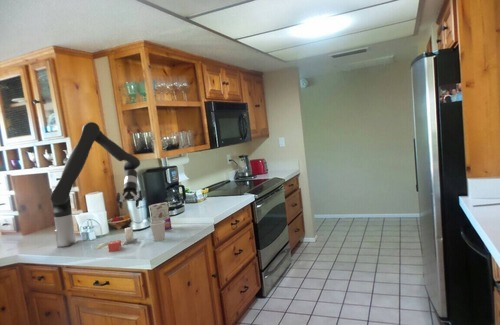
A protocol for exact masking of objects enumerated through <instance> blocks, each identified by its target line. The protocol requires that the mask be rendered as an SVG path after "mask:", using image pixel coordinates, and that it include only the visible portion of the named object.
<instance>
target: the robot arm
mask: <svg viewBox="0 0 500 325" xmlns="http://www.w3.org/2000/svg"><path fill="white" fill-rule="evenodd" d="M95 142H96V143H97V144H98V145H100V146H101V147H102V148H103V149H104V150H106V151H107V152H108V153H109V154H110V155H111V156H112V157H113V158H114V159H116V160H117V161H118V162H124V161H125V162H124V164H123V171H124V175H125V176H124V181H123V188H122V190H123V192H122V193H120V192H117V194H116V200H115V202H116V203H117V204H118V207H119V209H121V210H122V209H123V204H124V202H126V201H129V200H135V208H139V205H140V202H141V201H143V191H142V190H139V191H138V172H137V171H136V169H137V168H138V167H140V166H141V160H140V159H139V158H138V157H137V156H135V155H133V154H130V153H129V152H126V151H125V150H124V149H123V148H122V147H121V146H120V145H118V144H117V143H115V142H114V141H113V140H112V139H110V138H109V137H107V135H105V134H104V133H103V132H102V130H101V128H100V126H99V125H98V124H97V123H96V122H94V121H93V122H92V121H90V122H89V121H88V122H86V123H85V124H84V125H83V126H82V130H81V134H80V137H79V140H78V141H77V144H76V145H75V146H74V148H73V149H72V151H71V153H70V154H69V156H68V158H67V160H66V162H65V164H64V167H63V170H62V173H61V176H60V178H59V181H58V182H57V184H56V186H55V187H54V188H53V190H52V192H51V193H50V201H51V203H52V208H53V217H54V225H55V230H54V235H55V242H56V247H57V248H58V247H67V246H72V245H74V244H75V243H76V242H77V238H76V230H75V225H74V219H73V213H72V212H73V211H72V202H71V196H70V193H71V191H72V188H73V185H74V184H75V181H76V180H77V179H78V178H79V175H80V174H81V172H82V170H83V168H84V167H85V164H86V162H87V159H88V157H89V154H90V151H91V149H92V146H93V144H94V143H95ZM137 195H138V196H137Z"/></svg>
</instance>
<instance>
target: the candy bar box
mask: <svg viewBox="0 0 500 325" xmlns="http://www.w3.org/2000/svg"><path fill="white" fill-rule="evenodd" d="M148 209H149V210H148V211H149V216H150V223H151V222H153V221H158V220H164V221H165V231H167V230H172V223H171V216H170V208H169V203H168V202H167V201H166V202H159V203H154V204H150V205H148Z"/></svg>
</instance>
